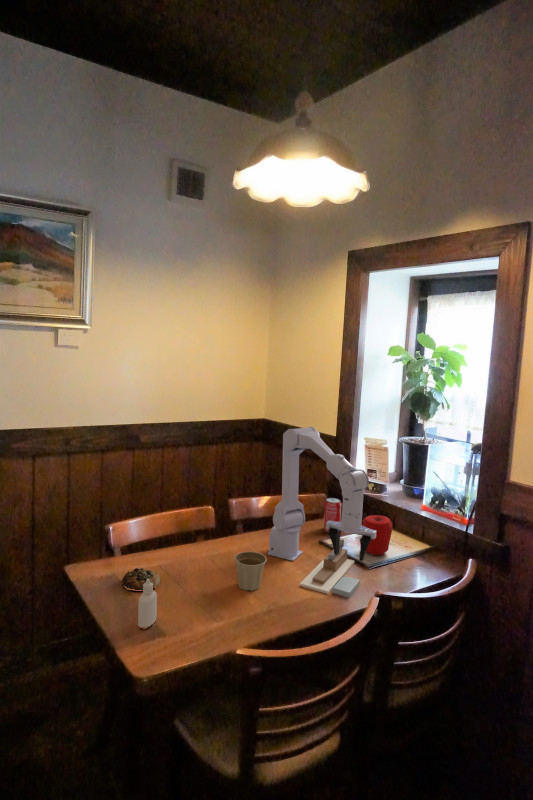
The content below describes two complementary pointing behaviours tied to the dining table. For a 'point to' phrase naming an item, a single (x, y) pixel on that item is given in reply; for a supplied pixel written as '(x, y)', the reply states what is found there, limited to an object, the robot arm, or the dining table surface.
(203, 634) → the dining table surface
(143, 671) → the dining table surface
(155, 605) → the eye dropper bottle
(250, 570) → the flower pot
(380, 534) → the apple
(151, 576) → the bread roll
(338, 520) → the soda can
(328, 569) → the latch box
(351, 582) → the cover
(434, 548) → the dining table surface
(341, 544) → the bolt
